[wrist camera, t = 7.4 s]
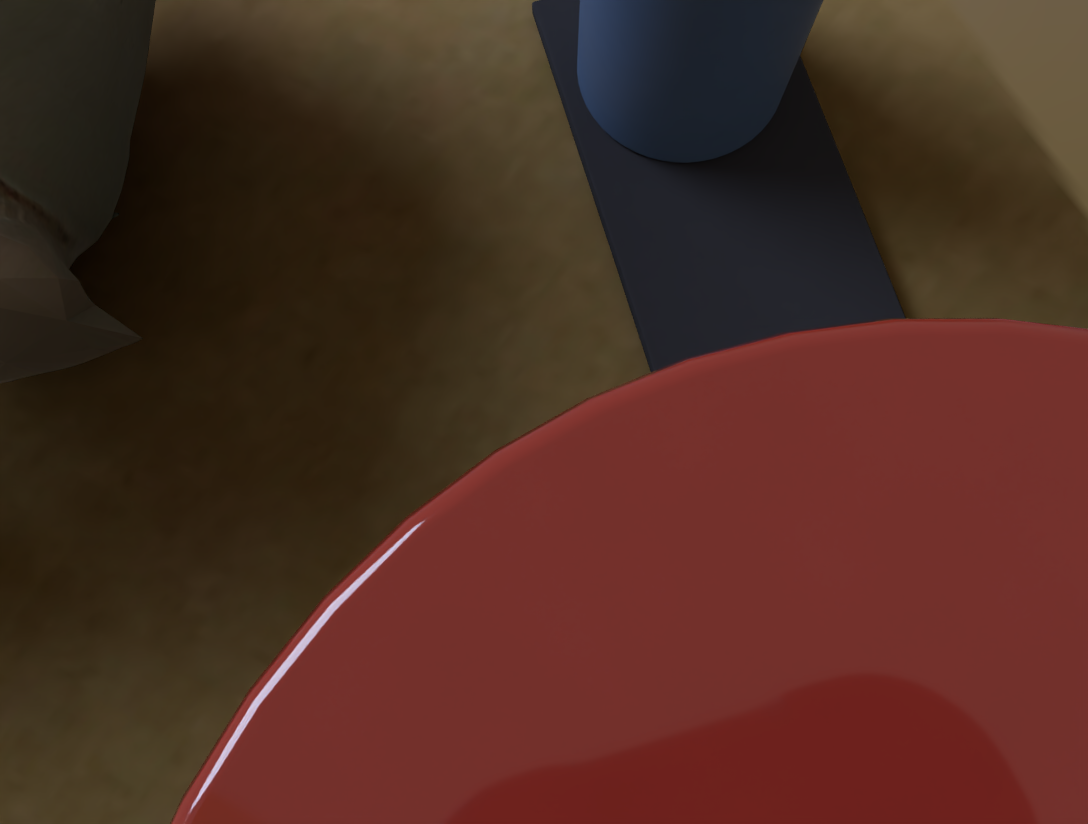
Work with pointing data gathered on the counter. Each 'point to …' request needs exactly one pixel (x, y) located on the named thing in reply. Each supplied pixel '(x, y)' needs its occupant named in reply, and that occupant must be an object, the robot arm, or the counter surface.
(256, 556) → the counter surface
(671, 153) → the blue cylinder
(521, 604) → the red cylinder
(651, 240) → the charcoal mat
